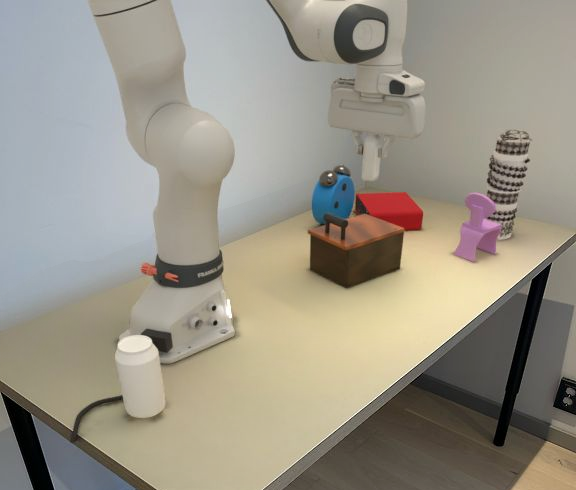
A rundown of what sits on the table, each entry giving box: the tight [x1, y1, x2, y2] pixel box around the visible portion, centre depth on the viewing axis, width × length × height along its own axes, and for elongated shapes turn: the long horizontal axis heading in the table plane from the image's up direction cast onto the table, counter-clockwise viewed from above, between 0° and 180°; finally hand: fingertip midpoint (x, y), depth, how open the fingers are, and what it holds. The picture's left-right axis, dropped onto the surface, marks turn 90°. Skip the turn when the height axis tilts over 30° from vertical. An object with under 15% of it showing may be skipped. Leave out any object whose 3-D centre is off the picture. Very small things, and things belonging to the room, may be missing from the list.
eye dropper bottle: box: [361, 132, 383, 182], centre depth 119 cm, size 4×6×12 cm
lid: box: [307, 213, 405, 250], centre depth 128 cm, size 17×13×5 cm
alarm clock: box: [311, 164, 356, 227], centre depth 154 cm, size 13×6×15 cm, turn 146°
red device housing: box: [354, 191, 424, 231], centre depth 160 cm, size 18×14×5 cm
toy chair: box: [452, 192, 502, 263], centre depth 137 cm, size 8×9×15 cm
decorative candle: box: [485, 129, 533, 241], centre depth 146 cm, size 9×9×25 cm
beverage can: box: [114, 335, 167, 419], centre depth 87 cm, size 6×6×12 cm
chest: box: [309, 231, 405, 289], centre depth 132 cm, size 17×13×9 cm
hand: (371, 155), depth 120 cm, fingers closed on eye dropper bottle, 4 cm apart
